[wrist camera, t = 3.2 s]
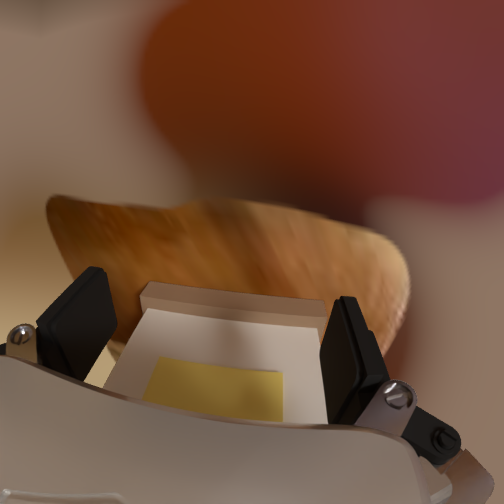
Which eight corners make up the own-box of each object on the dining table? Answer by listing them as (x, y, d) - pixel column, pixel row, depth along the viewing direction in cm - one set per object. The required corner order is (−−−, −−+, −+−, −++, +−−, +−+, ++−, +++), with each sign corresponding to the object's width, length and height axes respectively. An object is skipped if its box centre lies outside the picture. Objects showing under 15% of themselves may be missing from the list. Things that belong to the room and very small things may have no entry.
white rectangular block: (309, 348, 22) (322, 512, 10) (156, 330, 23) (92, 474, 10) (323, 300, 20) (357, 491, 7) (149, 281, 20) (54, 438, 8)
